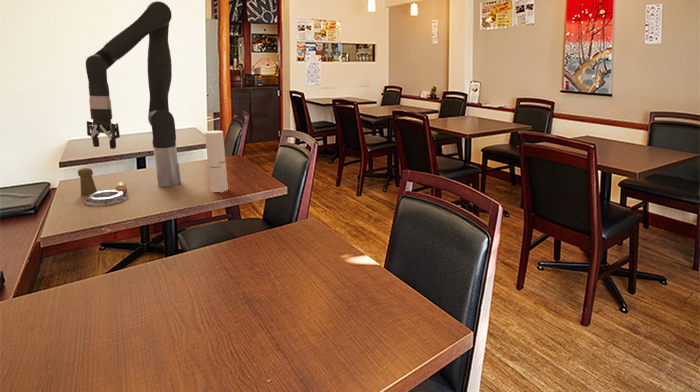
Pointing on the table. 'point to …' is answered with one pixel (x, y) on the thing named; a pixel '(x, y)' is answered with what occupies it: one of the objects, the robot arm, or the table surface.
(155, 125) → the robot arm
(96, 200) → the flange seat
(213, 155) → the beige rectangular tower
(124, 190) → the pipe stub
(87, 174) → the cork
